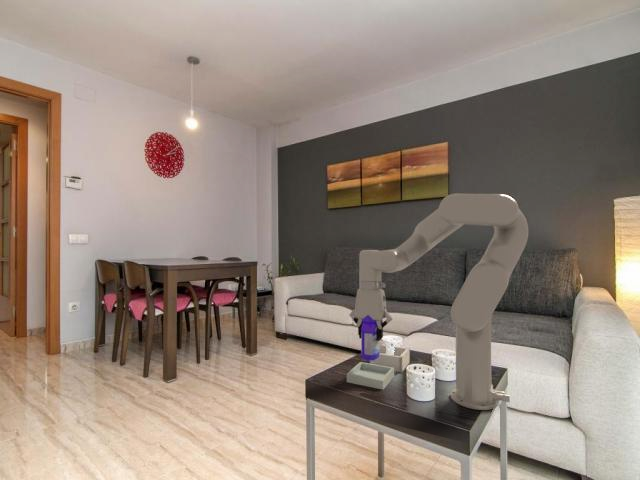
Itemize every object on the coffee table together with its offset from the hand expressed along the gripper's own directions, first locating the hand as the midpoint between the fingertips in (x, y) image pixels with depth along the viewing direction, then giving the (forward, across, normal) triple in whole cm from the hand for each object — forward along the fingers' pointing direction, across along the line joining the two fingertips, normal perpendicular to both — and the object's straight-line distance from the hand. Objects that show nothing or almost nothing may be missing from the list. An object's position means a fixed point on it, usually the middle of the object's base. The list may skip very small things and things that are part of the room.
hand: (370, 338), depth 115 cm
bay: (+14, -2, -16) cm, 21 cm away
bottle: (+7, 0, 0) cm, 7 cm away
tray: (+14, 0, 0) cm, 14 cm away
